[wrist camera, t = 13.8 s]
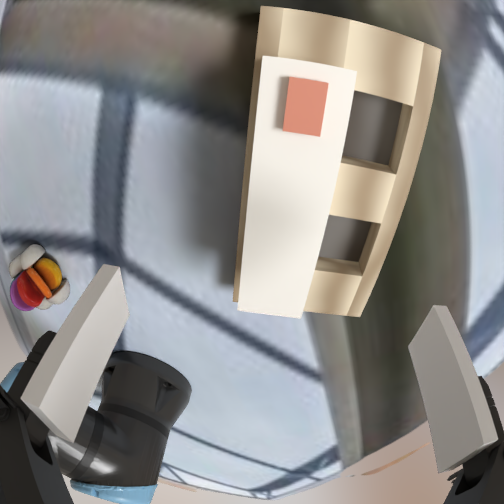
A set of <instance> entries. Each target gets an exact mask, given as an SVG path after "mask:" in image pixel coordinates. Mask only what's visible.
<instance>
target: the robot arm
mask: <svg viewBox="0 0 504 504" xmlns="http://www.w3.org/2000/svg"><path fill="white" fill-rule="evenodd" d="M129 316H130V314H129V309H128V305H127V301H126V296H125V292H124V287H123V282H122V277H121V272H120V267H117V266H111V265H105V264H103V266H102V267H101V268H100V270H99V271H98V273H97V274H96V275H95V277H94V278H93V280H92V281H91V282H90V284H89V285H88V287H87V288H86V290H85V291H84V293H83V294H82V295H81V297H80V298H79V300H78V301H77V303H76V304H75V306H74V307H73V309H72V310H71V312H70V314H69V315H68V317H67V318H66V320H65V321H64V323H63V324H62V326H61V328H60V329H59V331H58V333H55V332H52V331H47V332H46V333H45V334H44V335H43V336H41V337H40V338H39V339H38V341H37V342H36V344H35V345H34V347H33V349H32V352H30V354H29V355H28V357H27V360H26V361H25V362H21V363H17V364H16V365H15V366H14V367H13V368H12V369H11V371H10V372H9V373H8V374H7V376H6V377H5V378H4V380H3V381H2V382H1V384H0V504H74V503H73V501H72V498H71V496H70V494H69V491H68V489H67V487H66V484H65V482H64V479H63V476H62V474H63V475H66V476H67V477H69V478H71V480H70V483H71V487H72V488H73V489H75V490H77V491H79V492H82V493H85V494H88V495H91V496H94V497H98V498H101V499H104V500H107V501H111V502H115V503H119V504H150V503H151V500H152V497H153V495H154V491H155V489H156V487H157V481H158V476H159V472H160V468H161V464H162V460H163V456H164V452H165V448H166V444H167V440H168V436H169V432H170V429H171V428H172V426H173V425H174V423H175V422H176V421H177V419H178V418H179V416H180V415H181V413H182V412H183V411H184V409H185V408H186V406H187V405H188V403H189V399H190V396H191V391H192V389H191V386H190V384H189V382H188V381H187V379H186V378H185V377H184V376H183V375H182V374H181V373H179V372H178V371H177V370H175V369H174V368H172V367H171V366H169V365H167V364H165V363H163V362H161V361H159V360H157V359H155V358H152V357H149V356H146V355H143V354H138V353H133V352H117V353H114V354H112V355H111V353H112V351H113V349H114V347H115V344H116V342H117V340H118V338H119V336H120V334H121V332H122V330H123V328H124V326H125V324H126V322H127V320H128V318H129ZM408 348H409V352H410V355H411V358H412V362H413V365H414V368H415V372H416V375H417V379H418V383H419V386H420V390H421V394H422V398H423V402H424V406H425V410H426V414H427V418H428V423H429V427H430V432H431V436H432V441H433V446H434V451H435V457H436V462H437V468H438V473H442V472H446V471H450V470H453V469H454V468H456V467H458V466H460V465H461V464H463V469H461V470H459V471H458V472H456V473H454V474H453V475H451V476H450V477H449V478H448V481H450V480H452V479H454V478H455V477H456V479H455V480H453V481H452V483H453V486H452V488H451V490H450V492H449V494H448V496H447V498H446V500H445V502H444V504H504V431H503V427H502V424H501V421H500V418H499V414H498V411H497V408H496V407H495V403H494V400H493V398H492V394H491V392H490V389H489V386H488V384H487V383H486V382H485V380H484V379H483V378H482V376H477V374H476V371H475V368H474V366H473V363H472V361H471V359H470V356H469V354H468V351H467V349H466V347H465V344H464V342H463V340H462V338H461V335H460V333H459V331H458V329H457V327H456V325H455V323H454V320H453V318H452V316H451V314H450V312H449V310H448V308H447V306H438V305H433V307H432V309H431V310H430V312H429V314H428V315H427V317H426V319H425V320H424V322H423V324H422V325H421V327H420V329H419V330H418V332H417V333H416V335H415V337H414V338H413V340H412V341H411V343H410V344H409V346H408ZM110 355H111V356H110ZM102 373H103V382H102V398H101V403H100V406H99V408H98V411H96V410H94V409H93V408H91V407H89V406H88V405H89V403H90V400H91V398H92V396H93V393H94V391H95V389H96V386H97V384H98V382H99V379H100V377H101V375H102Z"/></svg>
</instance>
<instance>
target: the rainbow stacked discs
mask: <svg viewBox="0 0 504 504" xmlns="http://www.w3.org/2000/svg"><path fill="white" fill-rule="evenodd" d="M44 252H45V249H44V248H43V247H42V246H40V245H37V244H33V245H31V246H29V247H28V248H27V249H26V250H25V251H24V252H23V253H22V254H20V255H18V256H17V257H16V258H15V259H14V260H13V261H12V262H11V263H10V266H9V272H10V276H11V277H12V278H14V280H13V281H12V283H11V286H10V297H11V300H12V303H13V304H14V306H15V307H16V308H18V309H19V310H22V311H30V310H32V309H34V308H35V307H36V308H38V309H41V310H45V309H48V308H49V307H51V306H52V305H53V304H61V303H63V302H64V301H65V300H66V299H67V298H68V296H69V294H70V285H69V282H68V281H67V280H63V281H61V280H62V273H61V270H60V268H59V267H58V265H57V264H56V263H55V262H53V261H52V260H50V259H48V258H41V259H39V258H40V257H41V256H42V255H43V254H44ZM38 259H39V260H38ZM32 265H33V268H32V267H31V266H32Z"/></svg>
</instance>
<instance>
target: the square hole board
mask: <svg viewBox="0 0 504 504" xmlns="http://www.w3.org/2000/svg"><path fill="white" fill-rule="evenodd" d="M440 55H441V49H438V48H436V47H433V46H431V45H428V44H426V43H423V42H421V41H418V40H415V39H413V38H410V37H407V36H404V35H401V34H398V33H395V32H392V31H389V30H386V29H383V28H379V27H376V26H372V25H369V24H365V23H361V22H357V21H353V20H349V19H345V18H340V17H335V16H330V15H325V14H320V13H314V12H308V11H302V10H295V9H287V8H279V7H268V6H261V10H260V19H259V28H258V37H257V46H256V55H255V64H254V74H253V83H252V93H251V102H250V112H249V122H248V133H247V143H246V153H245V164H244V175H243V186H242V197H241V208H240V219H239V231H238V243H237V255H236V267H235V279H234V292H233V302H238V299H239V288H240V277H241V266H242V255H243V245H244V234H245V224H246V213H247V203H248V193H249V182H250V172H251V162H252V152H253V142H254V133H255V123H256V113H257V104H258V94H259V85H260V75H261V66H262V57H263V56H272V57H281V58H288V59H296V60H302V61H309V62H314V63H320V64H326V65H331V66H336V67H340V68H345V69H350V70H354V71H357V76H356V82H355V88H354V94H353V100H352V106H351V111H350V117H349V122H348V128H347V133H346V138H345V143H344V148H343V153H342V158H341V163H340V167H339V172H338V177H337V181H336V186H335V190H334V195H333V199H332V203H331V207H330V212H329V216H328V220H327V224H326V228H325V232H324V236H323V240H322V244H321V248H320V252H319V256H318V259H317V263H316V267H315V271H314V274H313V278H312V282H311V285H310V289H309V292H308V296H307V299H306V303H305V306H304V310H303V311H308V312H317V313H326V314H336V315H345V316H356V317H360V316H361V313H362V311H363V309H364V307H365V305H366V303H367V300H368V298H369V296H370V293H371V291H372V289H373V287H374V284H375V282H376V279H377V277H378V275H379V272H380V270H381V267H382V265H383V262H384V260H385V257H386V255H387V252H388V250H389V247H390V244H391V242H392V239H393V236H394V234H395V231H396V228H397V225H398V223H399V220H400V217H401V214H402V211H403V208H404V205H405V202H406V199H407V196H408V193H409V189H410V186H411V183H412V180H413V176H414V173H415V170H416V166H417V163H418V159H419V155H420V152H421V148H422V144H423V140H424V136H425V132H426V128H427V124H428V120H429V115H430V111H431V106H432V101H433V96H434V91H435V86H436V80H437V74H438V68H439V62H440Z"/></svg>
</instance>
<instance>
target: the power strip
mask: <svg viewBox="0 0 504 504" xmlns="http://www.w3.org/2000/svg"><path fill="white" fill-rule="evenodd" d="M356 76H357V71H354V70H350V69H345V68H340V67H336V66H331V65H326V64H320V63H314V62H309V61H302V60H296V59H288V58H281V57H272V56H263V57H262V66H261V75H260V85H259V94H258V104H257V113H256V123H255V133H254V142H253V152H252V162H251V172H250V182H249V193H248V203H247V213H246V224H245V234H244V245H243V255H242V266H241V277H240V288H239V299H238V311H245V312H253V313H260V314H268V315H276V316H284V317H292V318H301V316H302V313H303V310H304V306H305V303H306V299H307V296H308V292H309V289H310V285H311V282H312V278H313V274H314V271H315V267H316V263H317V259H318V256H319V252H320V248H321V244H322V240H323V236H324V232H325V228H326V224H327V220H328V216H329V212H330V207H331V203H332V199H333V195H334V190H335V186H336V181H337V177H338V172H339V167H340V163H341V158H342V153H343V148H344V143H345V138H346V133H347V128H348V122H349V117H350V111H351V106H352V100H353V94H354V88H355V82H356Z"/></svg>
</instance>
